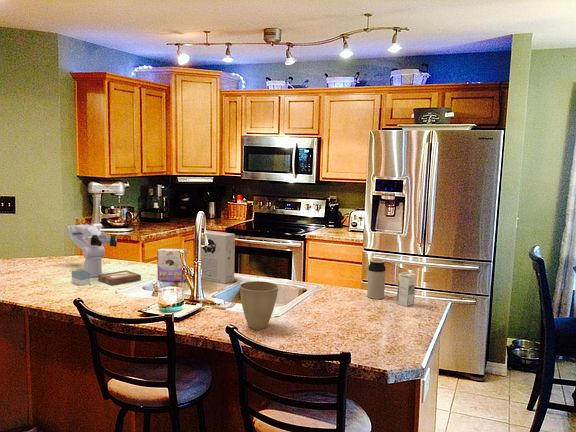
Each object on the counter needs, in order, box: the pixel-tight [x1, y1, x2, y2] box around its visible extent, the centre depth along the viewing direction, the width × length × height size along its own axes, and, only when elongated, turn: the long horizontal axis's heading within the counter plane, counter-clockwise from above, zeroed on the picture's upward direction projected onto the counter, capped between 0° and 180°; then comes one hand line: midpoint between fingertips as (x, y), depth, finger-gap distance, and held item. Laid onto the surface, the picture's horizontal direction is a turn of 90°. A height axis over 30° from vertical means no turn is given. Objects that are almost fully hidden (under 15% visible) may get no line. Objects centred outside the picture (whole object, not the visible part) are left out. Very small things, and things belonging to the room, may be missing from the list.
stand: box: [97, 270, 142, 286], centre depth 261 cm, size 14×16×3 cm
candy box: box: [156, 248, 187, 283], centre depth 263 cm, size 14×6×16 cm, turn 84°
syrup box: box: [396, 271, 417, 307], centre depth 231 cm, size 6×6×14 cm
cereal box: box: [193, 229, 236, 284], centre depth 268 cm, size 22×8×25 cm, turn 58°
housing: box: [71, 269, 91, 287], centre depth 253 cm, size 9×5×6 cm, turn 47°
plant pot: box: [239, 280, 279, 330], centre depth 196 cm, size 15×15×16 cm
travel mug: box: [366, 258, 387, 300], centre depth 242 cm, size 8×8×18 cm
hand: (108, 244), depth 253 cm, fingers open, 7 cm apart
